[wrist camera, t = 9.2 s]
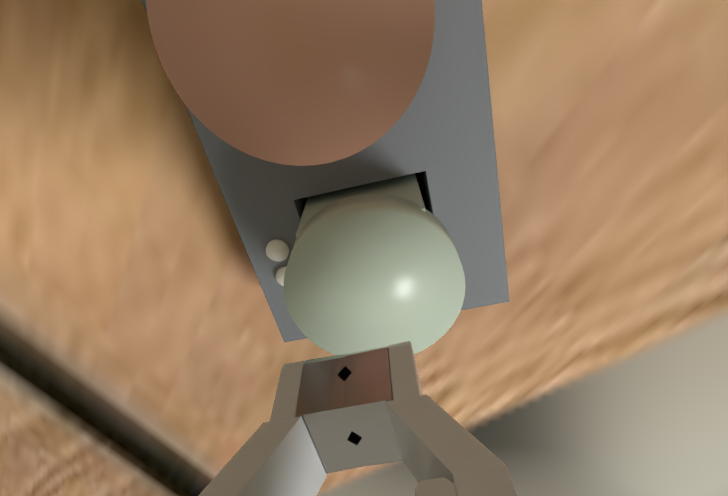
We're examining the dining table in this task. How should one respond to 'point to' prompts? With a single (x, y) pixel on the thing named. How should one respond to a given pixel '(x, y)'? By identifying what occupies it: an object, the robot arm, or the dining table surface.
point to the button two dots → (373, 269)
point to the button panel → (390, 170)
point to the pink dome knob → (295, 70)
